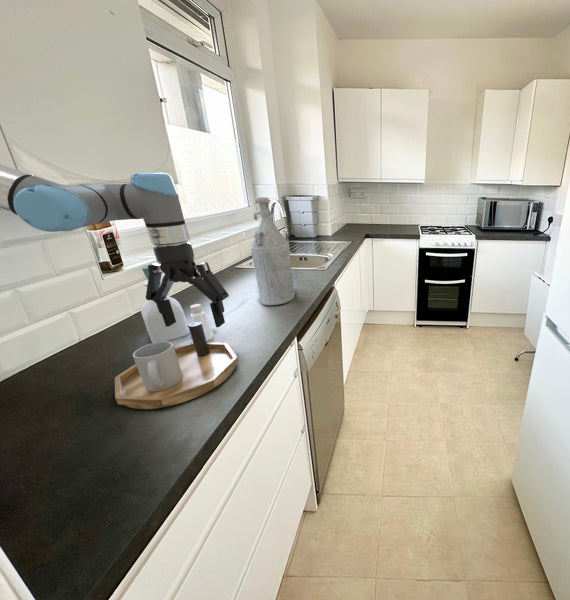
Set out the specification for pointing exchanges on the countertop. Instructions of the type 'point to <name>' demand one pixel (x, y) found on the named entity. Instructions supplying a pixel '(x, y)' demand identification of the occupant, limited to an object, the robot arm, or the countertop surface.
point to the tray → (195, 369)
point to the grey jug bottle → (271, 259)
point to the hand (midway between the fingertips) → (195, 324)
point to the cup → (158, 366)
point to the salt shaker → (201, 320)
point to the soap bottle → (156, 321)
